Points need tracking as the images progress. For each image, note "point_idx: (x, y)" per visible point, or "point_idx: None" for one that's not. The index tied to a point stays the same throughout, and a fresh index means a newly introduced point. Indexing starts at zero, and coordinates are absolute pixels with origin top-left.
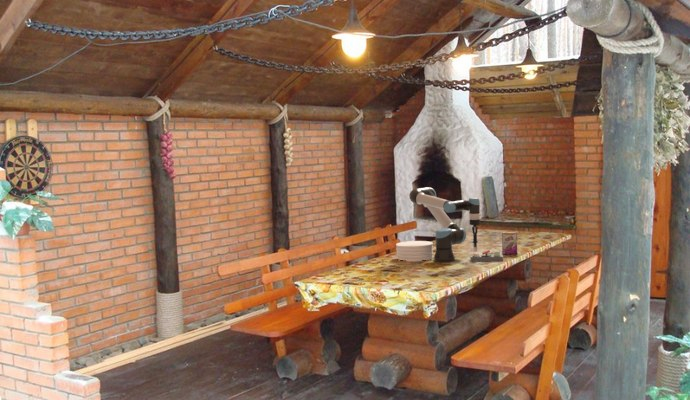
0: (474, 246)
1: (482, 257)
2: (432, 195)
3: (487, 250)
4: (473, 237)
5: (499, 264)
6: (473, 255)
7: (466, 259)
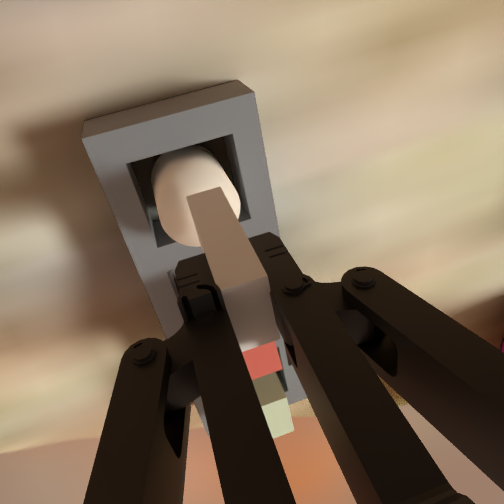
0: (176, 272)
1: (144, 284)
2: None
3: (274, 346)
4: (90, 489)
5: (2, 447)
6: (173, 168)
7: (227, 12)
